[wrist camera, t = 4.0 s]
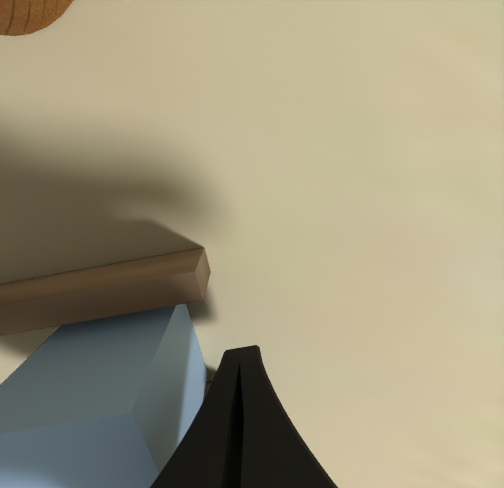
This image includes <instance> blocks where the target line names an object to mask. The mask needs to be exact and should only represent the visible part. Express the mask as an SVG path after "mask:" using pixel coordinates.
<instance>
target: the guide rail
mask: <svg viewBox="0 0 504 488" xmlns="http://www.w3.org/2000/svg"><path fill="white" fill-rule="evenodd" d="M209 276H210V268H209V264H208V260H207V256H206V252H205V248H200V249H194V250H188V251H183V252H177V253H172V254H166V255H161V256H155V257H149V258H144V259H138V260H133V261H127V262H122V263H116V264H110V265H105V266H99V267H94V268H88V269H83V270H77V271H71V272H66V273H60V274H55V275H49V276H44V277H38V278H32V279H27V280H21V281H16V282H10V283H5V284H0V336H2V335H8V334H13V333H19V332H25V331H31V330H36V329H42V328H48V327H54V326H59V325H65V324H71V323H76V322H82V321H88V320H94V319H99V318H105V317H111V316H117V315H122V314H128V313H134V312H139V311H145V310H151V309H157V308H162V307H168V306H174V305H179V304H185V303H191V302H197V301H202V300H203V299H204V295H205V291H206V288H207V284H208V280H209ZM211 384H212V382H210V383H206V384H205V390H204V397H203V401H204V399H205V397H206V395H207V392H208V390H209V388H210V386H211Z"/></svg>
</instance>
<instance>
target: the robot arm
mask: <svg viewBox="0 0 504 488" xmlns="http://www.w3.org/2000/svg"><path fill="white" fill-rule="evenodd" d="M150 488H338V487H337V486H336V485H335V483H334V482H333V481H332V480H331V478H330V477H329V476H328V474H327V473H326V471H325V470H324V469H323V467H322V466H321V465H320V463H319V462H318V461H317V459H316V458H315V457H314V455H313V454H312V452H311V451H310V450H309V448H308V447H307V445H306V444H305V442H304V441H303V439H302V438H301V436H300V435H299V433H298V431H297V430H296V428H295V427H294V425H293V423H292V422H291V420H290V418H289V417H288V415H287V413H286V412H285V410H284V408H283V406H282V404H281V403H280V401H279V399H278V397H277V395H276V393H275V391H274V389H273V387H272V384H271V382H270V380H269V378H268V376H267V373H266V371H265V368H264V365H263V362H262V358H261V353H260V348H259V347H258V346H257V345H254V346H248V347H242V348H236V349H230V350H226V351H225V352H224V354H223V357H222V360H221V363H220V365H219V368H218V370H217V372H216V375H215V377H214V380H213V382H212V384H211V386H210V388H209V390H208V392H207V395H206V397H205V399H204V401H203V403H202V405H201V406H200V408H199V410H198V412H197V414H196V416H195V418H194V420H193V421H192V423H191V425H190V427H189V429H188V430H187V432H186V434H185V435H184V437H183V439H182V440H181V442H180V444H179V445H178V447H177V448H176V450H175V452H174V453H173V455H172V456H171V458H170V459H169V461H168V462H167V463H166V465H165V466H164V468H163V469H162V471H161V472H160V474H159V475H158V477H157V478H156V480H155V481H154V482H153V484H152V485H151V486H150Z"/></svg>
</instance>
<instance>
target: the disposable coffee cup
mask: <svg viewBox="0 0 504 488" xmlns="http://www.w3.org/2000/svg"><path fill="white" fill-rule="evenodd" d="M72 1H73V0H0V35H10V36H18V35H25V34H31V33H33V32H36V31H38V30H41V29H43V28H45V27H47V26H49V25H50V24H51V23H53V22H54V21H55V20H56V19H58V18H59V17H60V16H62V14H63V13H64V12H65V10H66V9H67V8H68V7H69V5H70V4H71V3H72Z"/></svg>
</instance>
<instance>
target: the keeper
mask: <svg viewBox="0 0 504 488" xmlns="http://www.w3.org/2000/svg"><path fill="white" fill-rule="evenodd" d="M206 377H207V370H206V367H205V364H204V360H203V357H202V354H201V351H200V347H199V344H198V341H197V337H196V334H195V331H194V328H193V324H192V321H191V318H190V314H189V311H188V308H187V305H186V303H185V304H179V305H174V306H168V307H162V308H157V309H151V310H145V311H139V312H134V313H128V314H122V315H117V316H111V317H105V318H99V319H94V320H88V321H82V322H76V323H71V324H65V325H61V326H60V327H59V328H58V329H57V330H56V331H55V332H54V333H53V334H52V335H51V336H50V337H49V338H48V339H47V340H46V341H45V342H44V343H43V344H42V345H41V346H40V347H39V348H38V349H37V350H36V351H35V352H34V353H33V354H32V355H31V356H30V357H28V358H27V359H26V360H25V361H24V362H23V363H22V364H21V365H20V366H19V367H18V368H17V369H16V370H15V371H14V372H13V373H12V374H11V375H10V376H9V377H8V378H7V379H6V380H5V381H4V382H3V383H2V384H1V385H0V488H150V486H151V485H152V484H153V482H154V481H155V480H156V478H157V477H158V475H159V474H160V472H161V471H162V469H163V468H164V466H165V465H166V463H167V462H168V461H169V459H170V458H171V456H172V455H173V453H174V452H175V450H176V448H177V447H178V445H179V444H180V442H181V440H182V439H183V437H184V435H185V434H186V432H187V430H188V429H189V427H190V425H191V423H192V421H193V420H194V418H195V416H196V414H197V412H198V410H199V408H200V406H201V405H202V403H203V397H204V390H205V384H206Z"/></svg>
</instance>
